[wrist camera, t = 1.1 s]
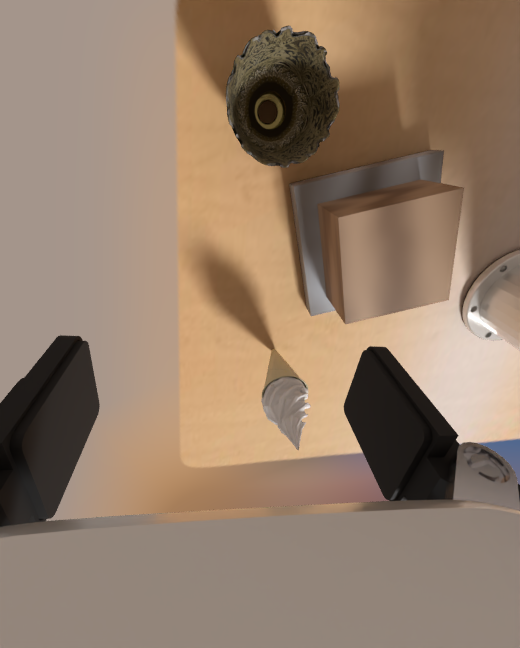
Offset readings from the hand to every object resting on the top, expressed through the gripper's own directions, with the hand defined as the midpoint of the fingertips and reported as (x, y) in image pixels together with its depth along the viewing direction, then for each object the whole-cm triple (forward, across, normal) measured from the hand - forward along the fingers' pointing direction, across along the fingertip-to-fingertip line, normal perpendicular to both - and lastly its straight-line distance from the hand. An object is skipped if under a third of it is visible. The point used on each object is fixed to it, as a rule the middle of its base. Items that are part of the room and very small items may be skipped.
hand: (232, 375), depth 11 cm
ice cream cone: (+24, -8, +15) cm, 29 cm away
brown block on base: (+24, -15, 0) cm, 28 cm away
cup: (+24, -3, -10) cm, 26 cm away
